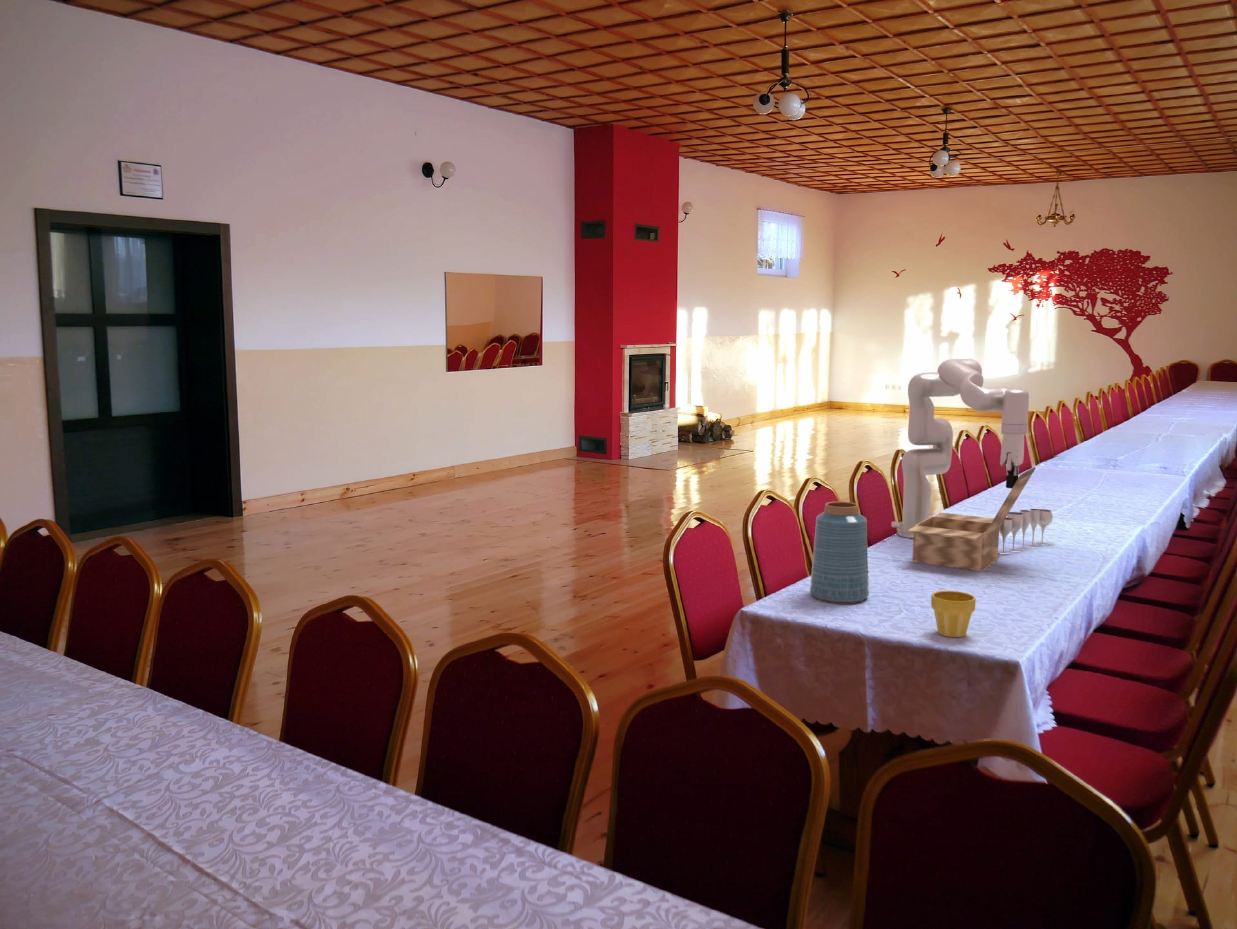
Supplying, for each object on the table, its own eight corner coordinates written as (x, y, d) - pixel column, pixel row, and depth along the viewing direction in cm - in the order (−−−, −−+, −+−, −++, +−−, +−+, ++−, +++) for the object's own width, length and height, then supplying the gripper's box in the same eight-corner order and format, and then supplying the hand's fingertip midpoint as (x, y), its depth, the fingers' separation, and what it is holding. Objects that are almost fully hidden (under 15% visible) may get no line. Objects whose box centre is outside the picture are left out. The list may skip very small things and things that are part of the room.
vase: (835, 608, 264) (838, 511, 260) (798, 593, 278) (800, 502, 274) (881, 599, 272) (884, 506, 268) (842, 586, 286) (845, 497, 282)
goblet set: (1006, 556, 321) (1008, 516, 319) (991, 552, 326) (993, 514, 324) (1054, 544, 337) (1056, 507, 335) (1039, 541, 342) (1041, 504, 340)
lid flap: (1020, 474, 291) (1022, 475, 291) (1034, 467, 306) (1035, 468, 305) (984, 533, 300) (986, 534, 299) (999, 523, 314) (1001, 525, 314)
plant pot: (937, 624, 249) (938, 587, 248) (978, 631, 244) (980, 593, 242) (924, 635, 241) (926, 597, 240) (967, 642, 235) (969, 603, 234)
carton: (904, 566, 307) (905, 529, 306) (937, 546, 335) (939, 512, 333) (975, 577, 295) (977, 538, 293) (1003, 554, 322) (1005, 519, 320)
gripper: (1007, 426, 307) (1005, 484, 310) (995, 430, 295) (992, 490, 298) (1032, 427, 303) (1030, 485, 305) (1021, 432, 291) (1018, 492, 293)
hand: (1011, 487), depth 302 cm, fingers closed
